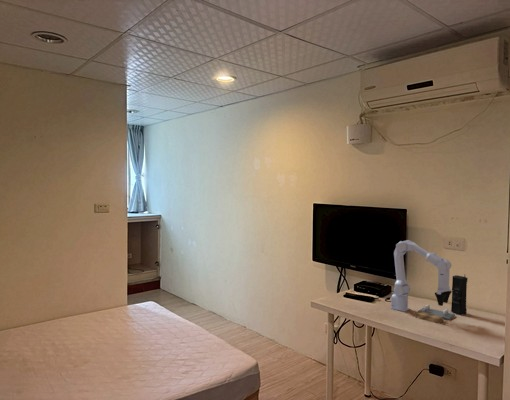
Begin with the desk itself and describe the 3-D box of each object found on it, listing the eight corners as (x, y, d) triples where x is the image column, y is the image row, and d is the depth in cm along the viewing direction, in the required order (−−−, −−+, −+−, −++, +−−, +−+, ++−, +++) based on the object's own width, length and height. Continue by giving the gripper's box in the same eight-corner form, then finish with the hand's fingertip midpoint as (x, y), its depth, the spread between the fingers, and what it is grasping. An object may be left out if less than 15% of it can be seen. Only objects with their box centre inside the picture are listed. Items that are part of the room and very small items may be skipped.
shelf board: (415, 317, 222) (415, 313, 222) (418, 315, 226) (419, 310, 226) (439, 324, 212) (439, 319, 212) (443, 321, 216) (443, 316, 216)
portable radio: (448, 311, 232) (449, 271, 231) (455, 310, 235) (456, 270, 233) (460, 315, 225) (461, 274, 224) (467, 313, 228) (468, 273, 226)
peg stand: (417, 312, 230) (418, 306, 229) (424, 309, 236) (424, 302, 236) (449, 320, 217) (449, 313, 216) (455, 316, 223) (455, 309, 223)
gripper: (446, 284, 208) (445, 308, 208) (455, 280, 218) (454, 302, 219) (433, 282, 213) (432, 305, 214) (442, 277, 223) (442, 300, 224)
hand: (442, 304), depth 216 cm, fingers open, 7 cm apart
